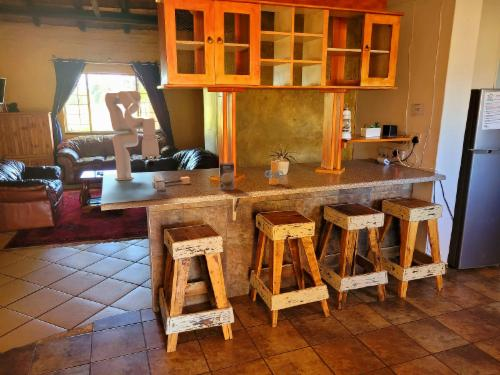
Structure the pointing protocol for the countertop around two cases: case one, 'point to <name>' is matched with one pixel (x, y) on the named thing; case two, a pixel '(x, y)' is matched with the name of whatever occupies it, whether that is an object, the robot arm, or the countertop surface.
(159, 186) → the motor housing
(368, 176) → the countertop surface
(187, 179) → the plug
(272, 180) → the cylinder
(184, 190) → the countertop surface
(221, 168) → the coffee box
